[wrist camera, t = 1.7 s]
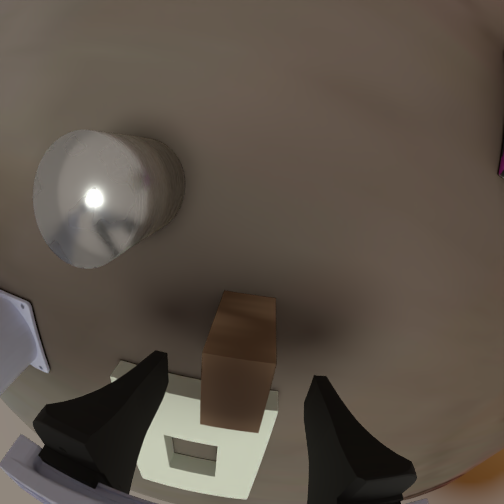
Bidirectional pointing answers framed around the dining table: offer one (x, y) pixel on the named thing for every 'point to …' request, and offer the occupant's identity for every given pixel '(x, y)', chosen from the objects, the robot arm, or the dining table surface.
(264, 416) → the socket plate
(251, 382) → the walnut bar
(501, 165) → the candy bar box
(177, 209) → the grey round peg
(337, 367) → the dining table surface
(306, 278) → the dining table surface
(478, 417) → the dining table surface
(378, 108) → the dining table surface
